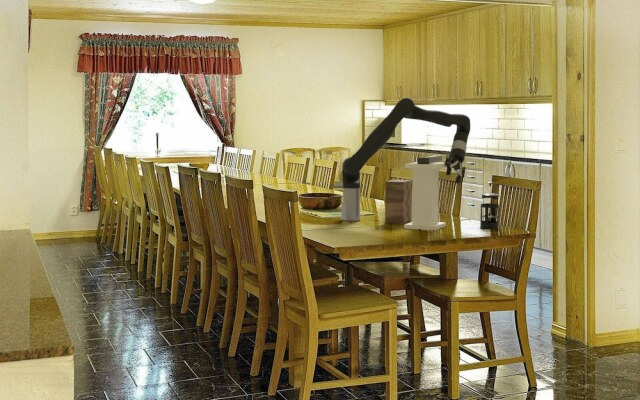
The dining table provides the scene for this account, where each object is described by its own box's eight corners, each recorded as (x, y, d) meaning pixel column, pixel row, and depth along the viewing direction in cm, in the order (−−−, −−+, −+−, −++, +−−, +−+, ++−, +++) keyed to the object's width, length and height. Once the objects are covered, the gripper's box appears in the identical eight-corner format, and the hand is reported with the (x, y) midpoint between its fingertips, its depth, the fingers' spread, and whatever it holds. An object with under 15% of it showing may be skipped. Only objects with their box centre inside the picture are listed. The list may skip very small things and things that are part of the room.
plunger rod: (427, 164, 406) (427, 158, 406) (415, 164, 409) (415, 157, 408) (444, 161, 429) (445, 155, 429) (433, 160, 432) (433, 155, 432)
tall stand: (434, 230, 406) (435, 164, 402) (404, 228, 413) (404, 163, 410) (445, 226, 420) (446, 162, 416) (415, 224, 427) (416, 161, 424)
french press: (495, 230, 406) (495, 183, 404) (476, 229, 411) (477, 182, 408) (502, 227, 416) (503, 181, 414) (484, 226, 421) (485, 180, 418)
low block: (403, 223, 430) (403, 182, 428) (385, 222, 435) (385, 181, 433) (411, 220, 441) (411, 180, 439) (393, 219, 446) (394, 179, 443)
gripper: (459, 159, 429) (454, 187, 422) (444, 145, 420) (438, 173, 413) (472, 157, 424) (467, 184, 417) (456, 142, 415) (451, 170, 408)
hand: (452, 179), depth 415 cm, fingers open, 8 cm apart
